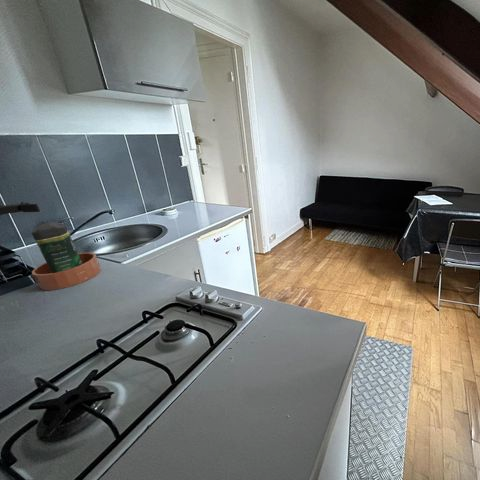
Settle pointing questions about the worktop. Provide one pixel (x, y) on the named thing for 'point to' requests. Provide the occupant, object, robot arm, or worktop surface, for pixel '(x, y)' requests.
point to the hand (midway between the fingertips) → (13, 213)
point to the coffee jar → (56, 246)
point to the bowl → (67, 273)
